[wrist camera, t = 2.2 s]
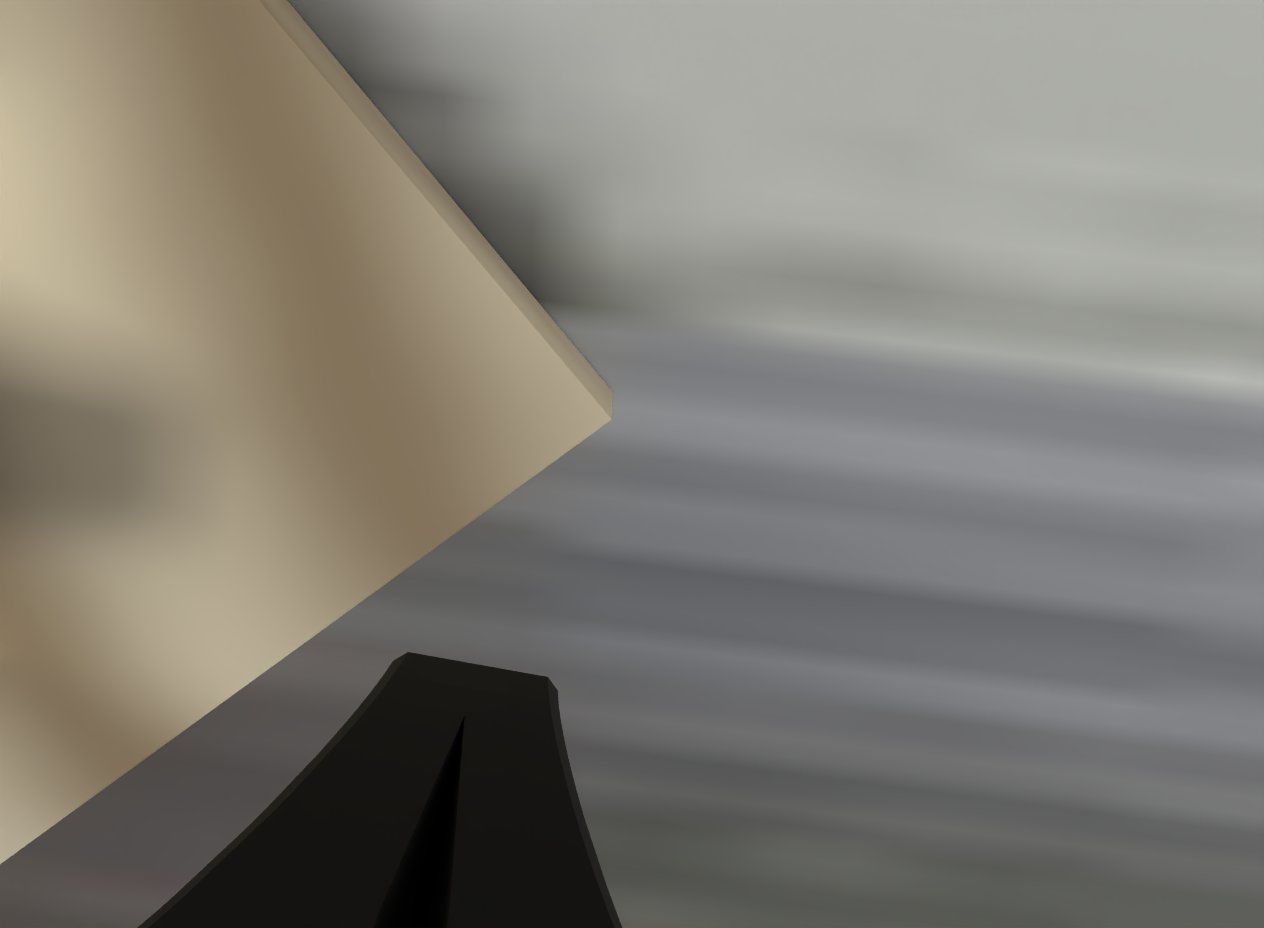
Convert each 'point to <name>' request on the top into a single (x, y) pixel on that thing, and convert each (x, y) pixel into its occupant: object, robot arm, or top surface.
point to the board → (225, 373)
